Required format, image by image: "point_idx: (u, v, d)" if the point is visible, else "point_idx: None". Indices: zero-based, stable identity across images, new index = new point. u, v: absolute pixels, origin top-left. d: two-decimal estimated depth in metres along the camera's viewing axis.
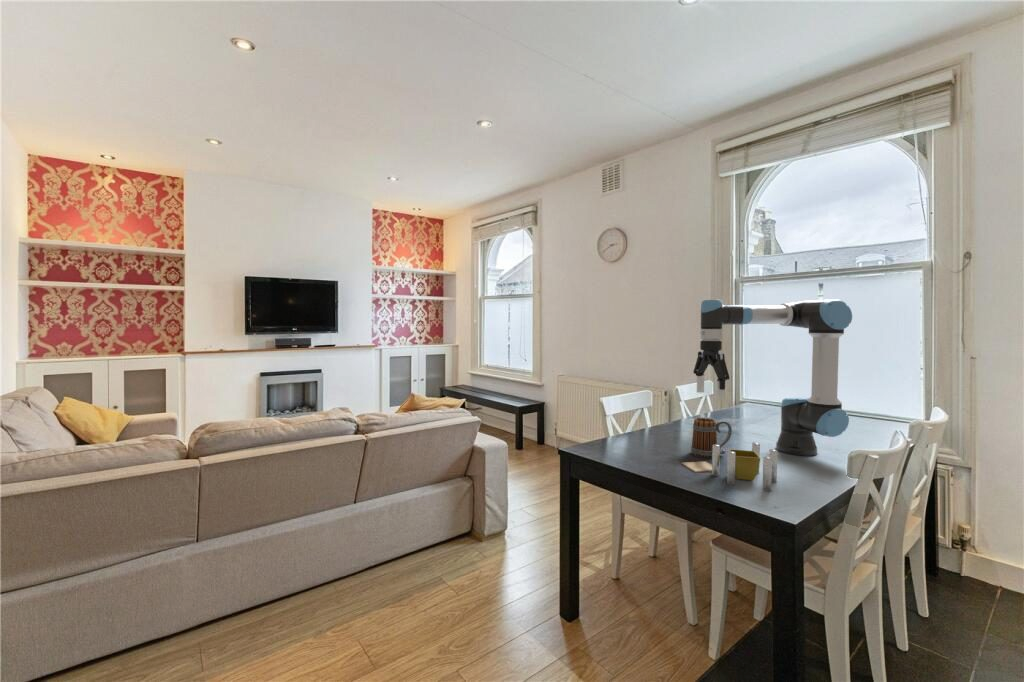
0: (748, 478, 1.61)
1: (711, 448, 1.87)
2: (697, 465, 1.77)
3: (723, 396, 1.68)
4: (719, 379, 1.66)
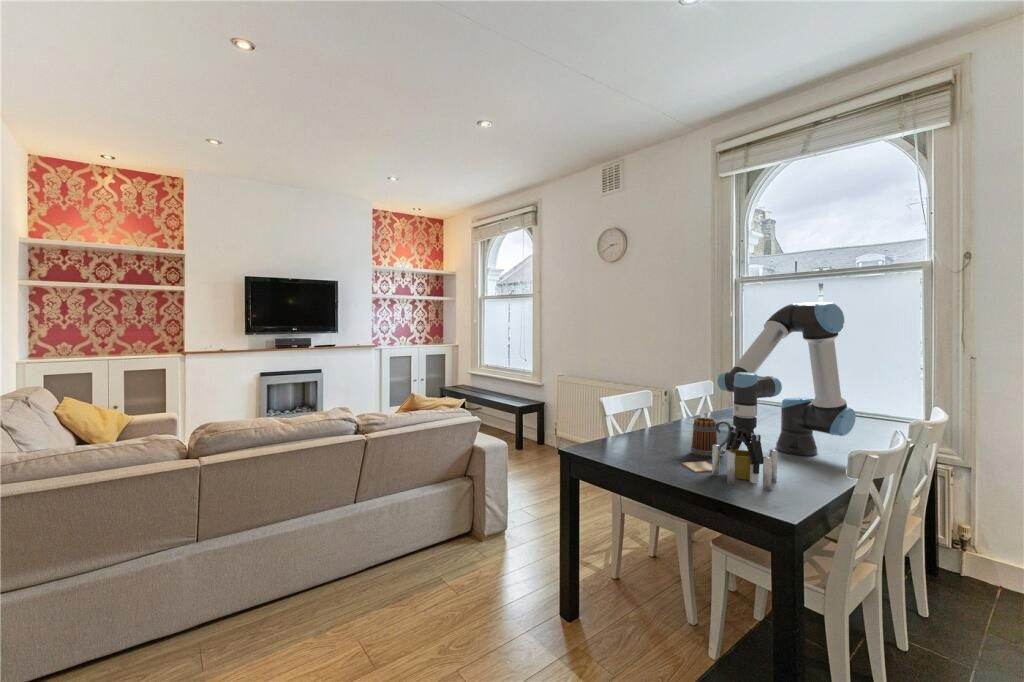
0: (748, 478, 1.61)
1: (711, 448, 1.87)
2: (697, 465, 1.77)
3: (757, 480, 1.58)
4: (753, 463, 1.56)
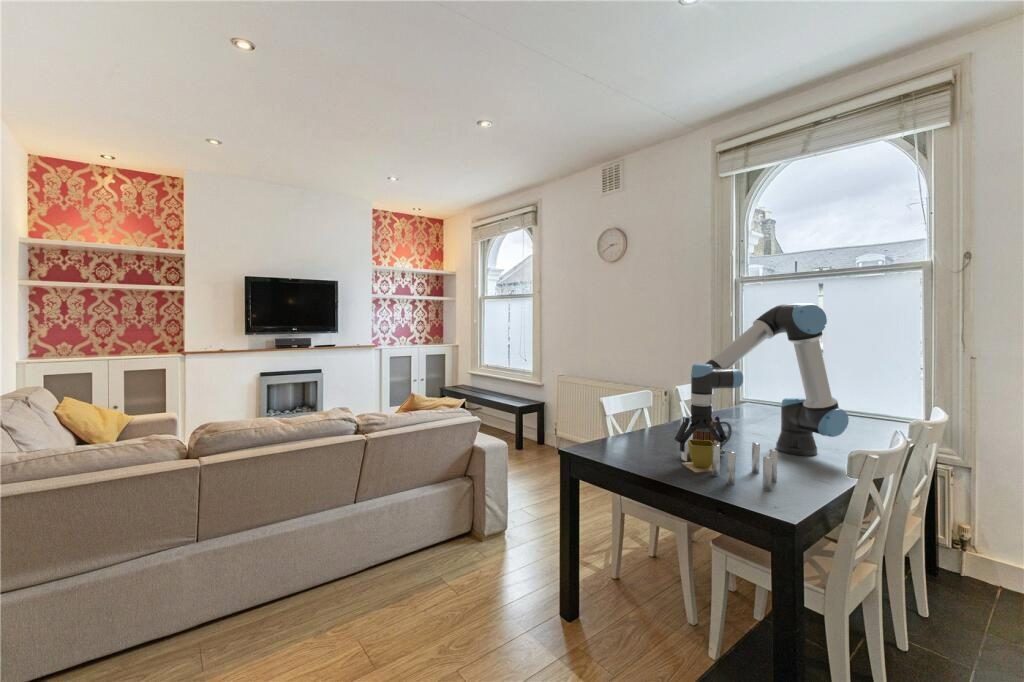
0: (693, 463, 1.75)
1: None
2: None
3: (684, 458, 1.73)
4: None
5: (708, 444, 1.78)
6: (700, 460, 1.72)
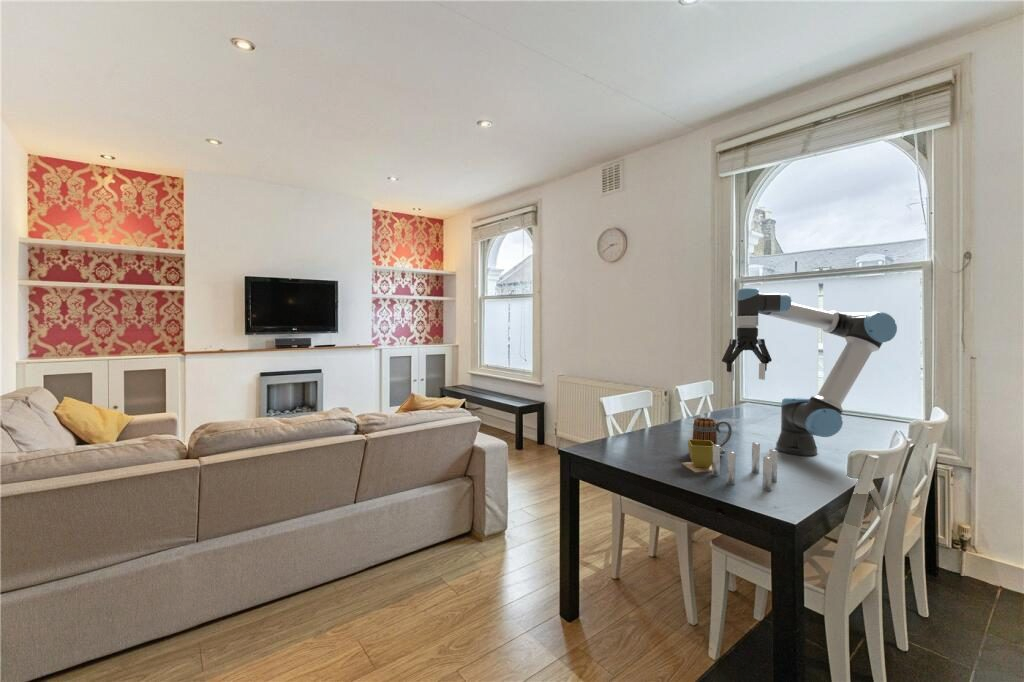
0: (693, 463, 1.75)
1: None
2: None
3: (731, 378, 1.81)
4: None
5: (708, 444, 1.78)
6: (700, 460, 1.72)
